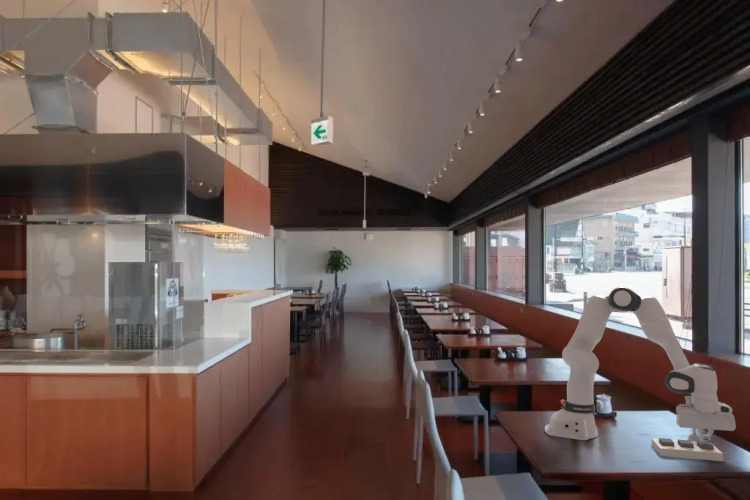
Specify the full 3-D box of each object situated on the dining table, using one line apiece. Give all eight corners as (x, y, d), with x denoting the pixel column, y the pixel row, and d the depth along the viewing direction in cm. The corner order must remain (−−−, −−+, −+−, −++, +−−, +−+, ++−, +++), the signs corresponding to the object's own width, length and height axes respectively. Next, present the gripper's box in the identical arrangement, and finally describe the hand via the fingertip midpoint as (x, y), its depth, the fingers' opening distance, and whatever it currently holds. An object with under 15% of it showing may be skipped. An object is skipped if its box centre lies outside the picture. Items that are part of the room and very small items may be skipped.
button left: (662, 447, 202) (662, 441, 202) (659, 444, 206) (658, 437, 206) (674, 448, 201) (674, 442, 201) (670, 444, 205) (670, 438, 205)
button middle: (681, 449, 200) (681, 443, 200) (677, 445, 205) (677, 439, 205) (693, 450, 199) (693, 444, 199) (689, 446, 203) (689, 440, 203)
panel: (660, 455, 199) (660, 447, 199) (651, 445, 210) (651, 437, 210) (723, 461, 193) (723, 452, 193) (710, 450, 205) (710, 442, 205)
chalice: (706, 443, 213) (706, 400, 213) (689, 442, 214) (688, 399, 215) (699, 437, 220) (698, 396, 220) (682, 436, 221) (681, 395, 222)
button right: (701, 451, 198) (701, 444, 199) (697, 447, 203) (697, 440, 203) (713, 452, 197) (713, 445, 197) (709, 448, 202) (709, 441, 202)
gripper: (678, 405, 200) (679, 440, 200) (736, 409, 195) (737, 444, 195) (673, 401, 206) (674, 435, 206) (729, 404, 201) (730, 439, 201)
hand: (705, 439), depth 200 cm, fingers closed
